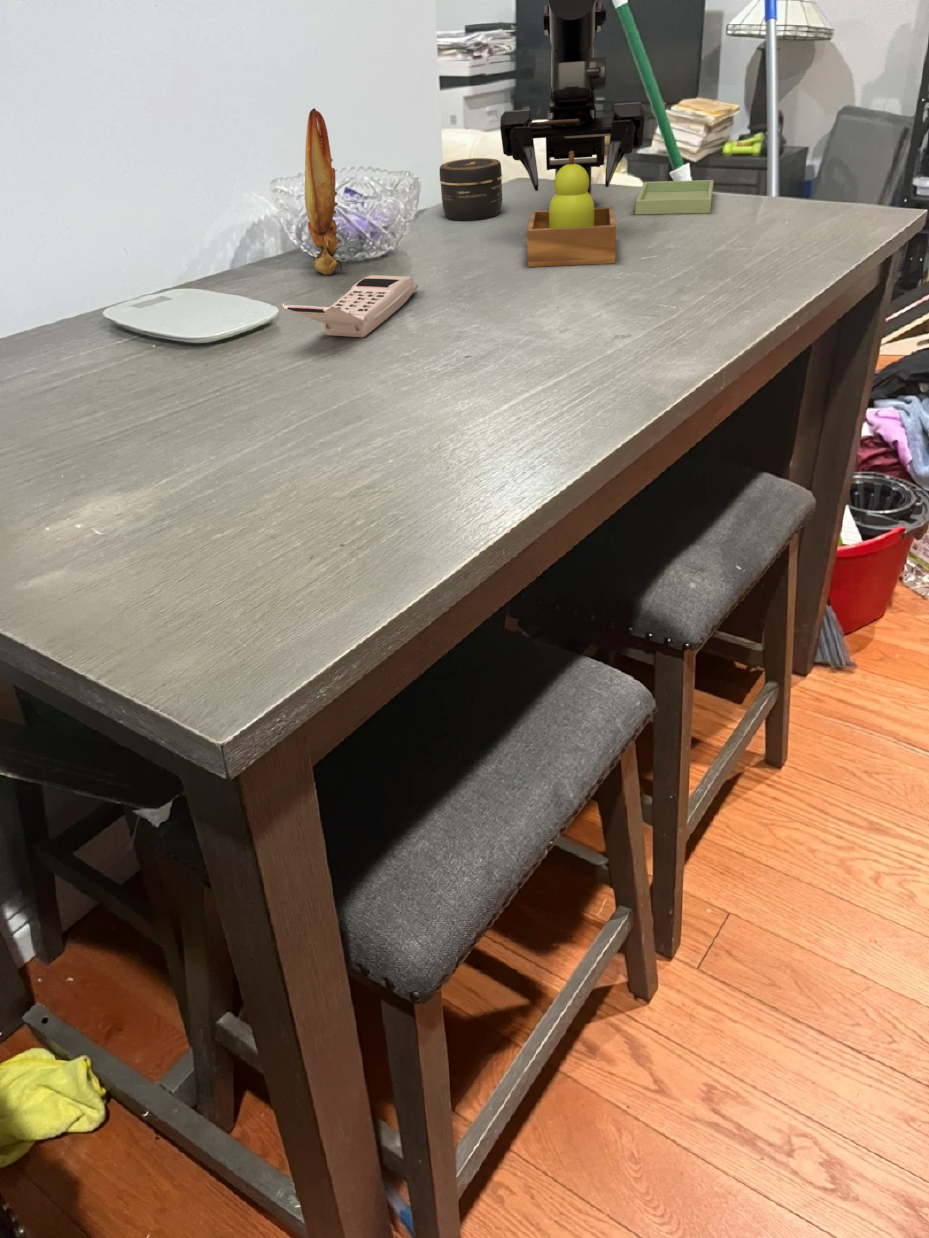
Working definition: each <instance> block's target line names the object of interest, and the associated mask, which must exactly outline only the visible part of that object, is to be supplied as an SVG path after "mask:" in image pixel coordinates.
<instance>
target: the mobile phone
mask: <svg viewBox="0 0 929 1238" xmlns="http://www.w3.org/2000/svg"><path fill="white" fill-rule="evenodd" d="M418 288H419V284H418V283H417V282H414V280H413V276H403V275H401V276H400V275H379V274H378V275H376V274H375V275H373V274H372V275H368V276H366V277H364V278H362V279H359V281H357V282H356V283H355V284H353V285H352V286H351V287H350V290H349V291H347V292H346V293H344V294H343V295H342V296H341V297H340V298H339V299H338V300H337V301H335V302H334V303H333V304H331V305H330V306H329V307H328V306H314V305H296V304H295V305H294V304H293V305H292V304H291V305H290V304H288V303H282V307H283V308H284V309H286V310H287V311H291V312H293V313H295V314H299V315H302V316H304V317H306V318H309V319H311V320H315V321H317V322H319V323H320V325H321V328H322V330H323V333H325V335H326V336H331V337H347V338H348V337H349V338H365V337H366V336H368V335H369V334H371V332H373V331H374V330H376V328H377V327H379V326H380V325H381V324H383V323H384V322H386V321H387V320H388V319H389V318H390V317H391V316H392V315H393V314H395V313H396V312H397V311H398V310H399V309H400V308H401V307H403V306H404V305H405V304H406V303H407V301H408V300H409V298H411V296H412V295H413V294H414V293H415V292H416V291H417V290H418Z"/></svg>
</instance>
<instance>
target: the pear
mask: <svg viewBox="0 0 929 1238" xmlns="http://www.w3.org/2000/svg"><path fill="white" fill-rule="evenodd" d="M574 159H575V158H574V151H570V152H569V164H567V165H565V166H563V167H562V168H561V169H560V170H559V171H558V172H557V174H556V176H555V175H554V179H553V188H554V191H555V192H556V194H553V196H552V198H551V200H550V203H549V206H548V207H549V208H548V210H549V228H564V227H584V226H594V208H595V205H594V202H593V200H594V199H593V197H592V194H591V195H590V194H589V193H588V188H589V177H588V174H587V172H586V170H585V169H584V168H583V167H582V166H580V165H578V164H574ZM555 192H554V193H555Z"/></svg>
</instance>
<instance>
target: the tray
mask: <svg viewBox="0 0 929 1238" xmlns="http://www.w3.org/2000/svg"><path fill="white" fill-rule="evenodd" d="M714 182H715V181H714V179H702V180H701V179H700V180H669V181H668V180H667V181H663V180H662V181H643V183H642V186H641V188H640V190H639V191H638V195H637V197H636V199H635V209H634V211H635V213H634V214H635V215H674V214H675V215H677V214H679V215H681V214H710V213H711V207H712V202H713V201H712V200H713V193H714V192H713V191H714Z"/></svg>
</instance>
